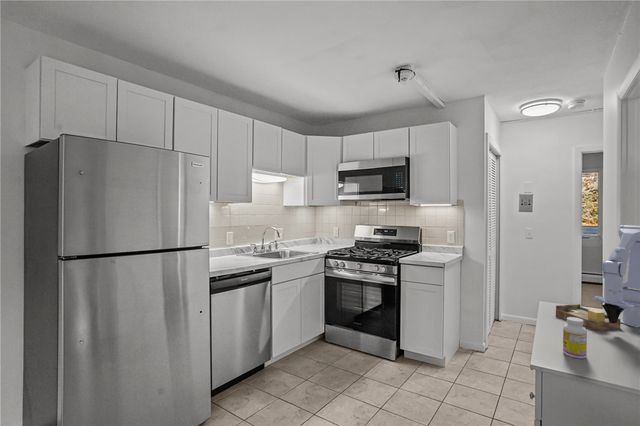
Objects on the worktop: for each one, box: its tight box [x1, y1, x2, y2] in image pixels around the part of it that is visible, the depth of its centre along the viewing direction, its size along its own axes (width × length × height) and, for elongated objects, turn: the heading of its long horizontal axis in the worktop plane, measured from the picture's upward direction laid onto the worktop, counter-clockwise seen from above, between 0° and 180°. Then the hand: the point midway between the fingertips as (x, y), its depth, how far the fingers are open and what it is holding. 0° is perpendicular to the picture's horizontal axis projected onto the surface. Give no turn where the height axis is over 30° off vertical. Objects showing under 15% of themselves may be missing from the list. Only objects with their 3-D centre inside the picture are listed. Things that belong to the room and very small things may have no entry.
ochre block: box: [588, 309, 606, 322], centre depth 144 cm, size 4×4×4 cm
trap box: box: [555, 303, 621, 331], centre depth 151 cm, size 13×19×5 cm
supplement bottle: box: [562, 317, 588, 360], centre depth 117 cm, size 7×7×13 cm
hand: (612, 322), depth 137 cm, fingers closed
